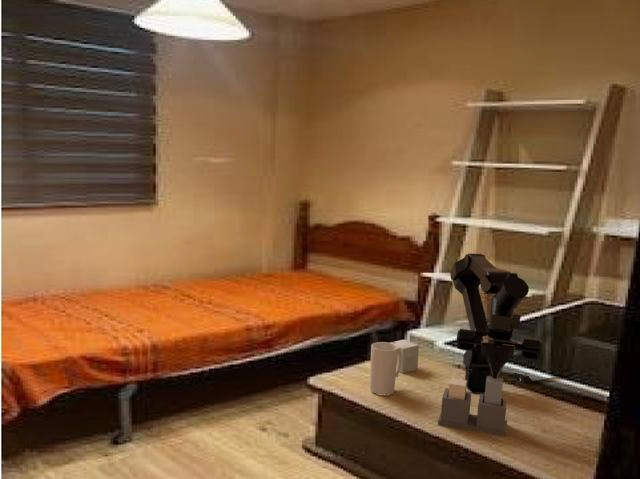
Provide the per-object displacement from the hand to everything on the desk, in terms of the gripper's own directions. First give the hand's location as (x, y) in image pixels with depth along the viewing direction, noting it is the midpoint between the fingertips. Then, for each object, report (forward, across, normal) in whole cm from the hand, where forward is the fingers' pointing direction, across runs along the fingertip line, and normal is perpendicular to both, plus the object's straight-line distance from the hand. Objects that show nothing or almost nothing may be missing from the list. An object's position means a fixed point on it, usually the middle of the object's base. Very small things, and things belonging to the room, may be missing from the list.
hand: (494, 377), depth 140 cm
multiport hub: (-18, +11, +36) cm, 42 cm away
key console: (+8, -4, +9) cm, 13 cm away
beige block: (+6, -8, +7) cm, 12 cm away
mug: (0, -27, +17) cm, 32 cm away
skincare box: (-12, -26, +30) cm, 41 cm away
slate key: (+5, 0, +6) cm, 8 cm away
